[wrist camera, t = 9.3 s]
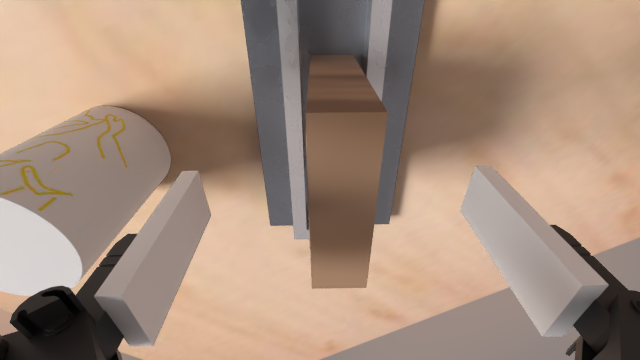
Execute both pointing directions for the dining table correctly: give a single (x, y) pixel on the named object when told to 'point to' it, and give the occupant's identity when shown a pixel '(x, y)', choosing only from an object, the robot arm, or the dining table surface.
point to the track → (293, 76)
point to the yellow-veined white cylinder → (73, 195)
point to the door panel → (342, 169)
